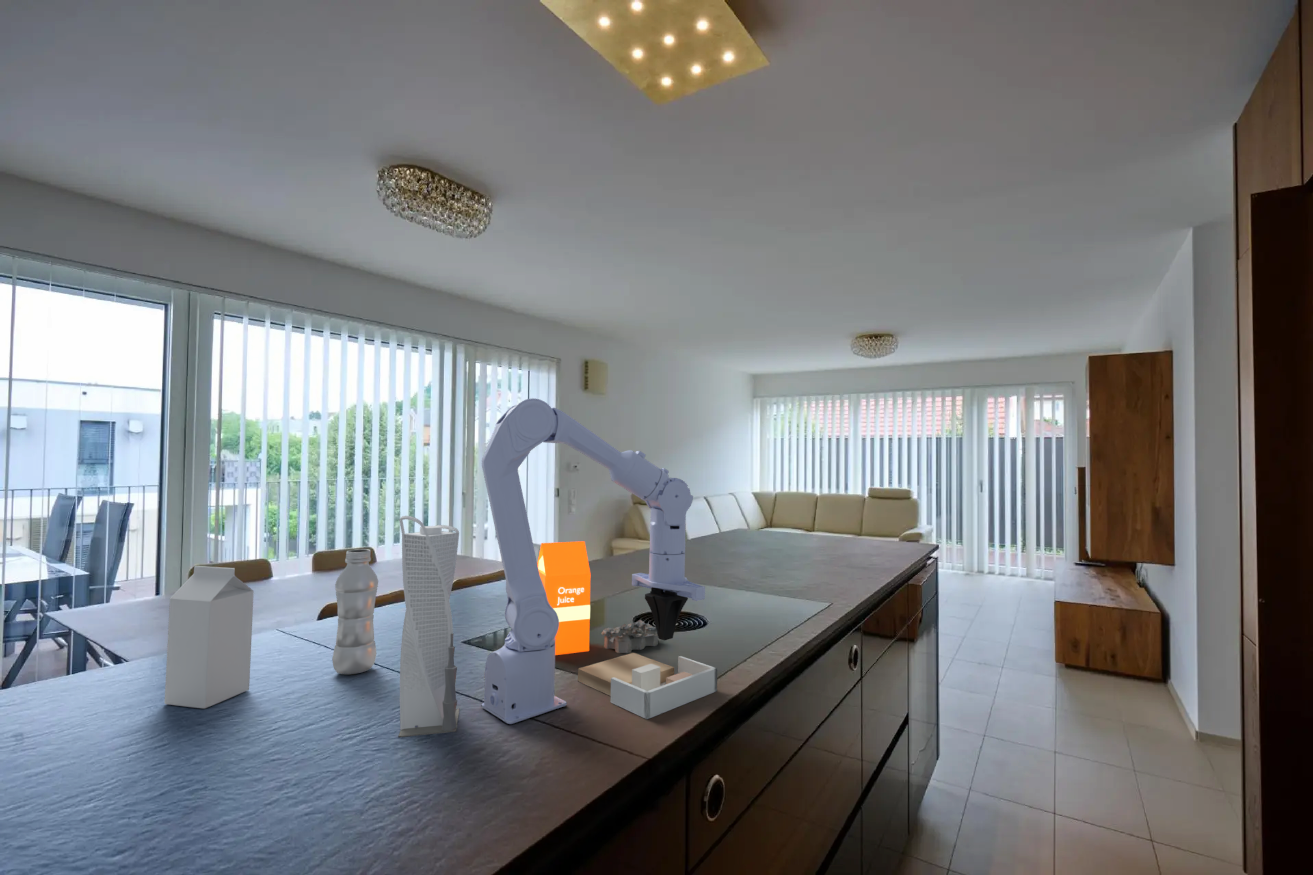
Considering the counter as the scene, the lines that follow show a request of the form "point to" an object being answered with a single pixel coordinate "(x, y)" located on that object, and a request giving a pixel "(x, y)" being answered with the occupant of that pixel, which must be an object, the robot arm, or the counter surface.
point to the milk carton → (209, 639)
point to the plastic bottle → (355, 614)
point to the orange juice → (567, 592)
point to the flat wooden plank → (618, 671)
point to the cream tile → (646, 677)
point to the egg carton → (630, 637)
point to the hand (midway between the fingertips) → (665, 638)
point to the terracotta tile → (677, 677)
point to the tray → (666, 690)
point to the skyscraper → (428, 632)
